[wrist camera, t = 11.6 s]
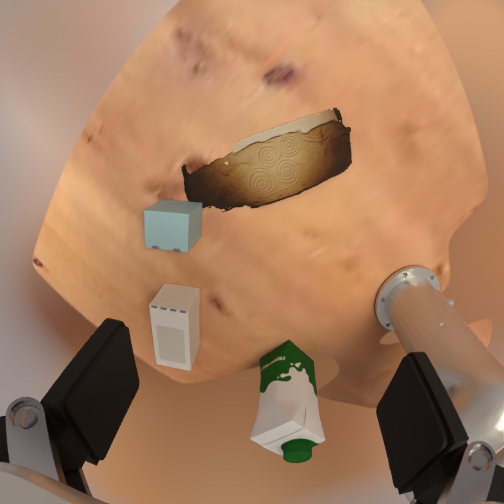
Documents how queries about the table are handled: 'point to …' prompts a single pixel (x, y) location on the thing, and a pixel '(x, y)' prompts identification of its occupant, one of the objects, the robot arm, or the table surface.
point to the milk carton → (288, 405)
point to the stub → (173, 225)
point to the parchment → (274, 164)
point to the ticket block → (176, 325)
